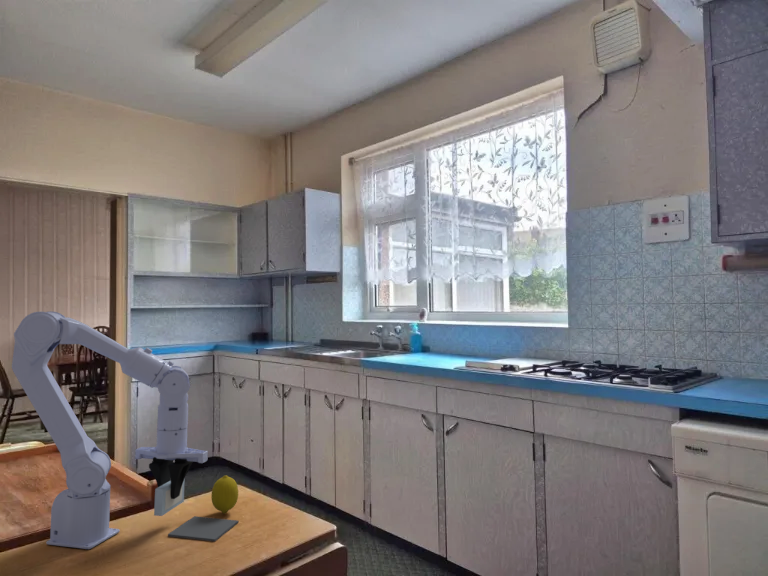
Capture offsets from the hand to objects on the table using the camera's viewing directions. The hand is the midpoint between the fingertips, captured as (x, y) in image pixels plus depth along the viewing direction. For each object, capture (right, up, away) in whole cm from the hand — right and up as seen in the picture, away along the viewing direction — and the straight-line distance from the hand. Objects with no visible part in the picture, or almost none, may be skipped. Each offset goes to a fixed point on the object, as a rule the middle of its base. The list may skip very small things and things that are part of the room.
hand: (169, 496), depth 103 cm
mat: (+7, -6, -1) cm, 9 cm away
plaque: (0, -2, 0) cm, 2 cm away
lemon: (+9, -7, +7) cm, 13 cm away
